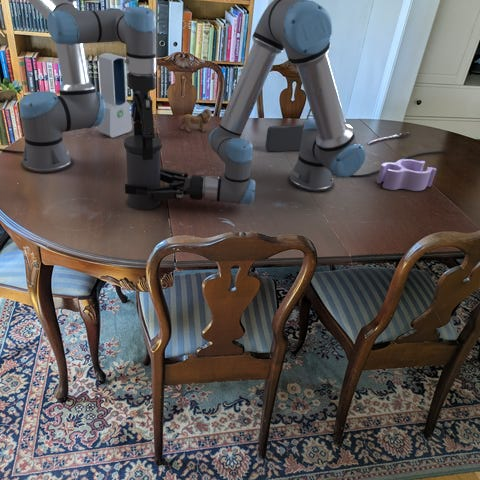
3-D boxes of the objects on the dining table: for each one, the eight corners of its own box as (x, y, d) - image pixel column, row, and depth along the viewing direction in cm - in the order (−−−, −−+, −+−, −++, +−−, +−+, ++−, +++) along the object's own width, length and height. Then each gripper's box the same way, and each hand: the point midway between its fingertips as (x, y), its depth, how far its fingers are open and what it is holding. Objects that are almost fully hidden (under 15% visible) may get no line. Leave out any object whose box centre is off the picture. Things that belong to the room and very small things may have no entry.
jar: (150, 212, 139) (150, 152, 128) (122, 204, 141) (119, 145, 131) (165, 199, 147) (166, 141, 136) (138, 192, 149) (136, 135, 138)
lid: (117, 149, 130) (117, 144, 130) (134, 137, 139) (134, 132, 138) (152, 156, 129) (152, 150, 128) (167, 143, 137) (167, 138, 137)
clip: (389, 193, 165) (394, 175, 161) (370, 177, 175) (375, 160, 171) (435, 189, 171) (441, 172, 167) (414, 174, 181) (420, 158, 177)
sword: (406, 132, 223) (406, 130, 222) (411, 134, 221) (412, 132, 220) (362, 144, 207) (363, 141, 206) (368, 146, 205) (368, 143, 204)
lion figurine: (208, 127, 204) (210, 107, 199) (212, 131, 200) (213, 111, 195) (176, 128, 199) (176, 107, 195) (179, 132, 195) (179, 111, 190)
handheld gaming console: (315, 147, 196) (319, 124, 190) (317, 149, 194) (322, 126, 188) (264, 149, 189) (267, 125, 183) (266, 152, 187) (269, 127, 181)
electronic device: (110, 138, 183) (105, 58, 167) (97, 133, 186) (90, 54, 170) (132, 130, 192) (130, 54, 176) (119, 126, 195) (115, 50, 179)
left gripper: (119, 62, 130) (122, 137, 142) (136, 85, 113) (138, 169, 125) (145, 62, 133) (147, 136, 145) (166, 84, 115) (166, 166, 127)
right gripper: (199, 217, 133) (121, 209, 133) (206, 183, 152) (137, 176, 151) (200, 193, 129) (119, 186, 129) (207, 161, 148) (136, 154, 147)
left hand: (143, 151), depth 135 cm, fingers closed on lid, 10 cm apart
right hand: (129, 181), depth 140 cm, fingers closed on jar, 10 cm apart
